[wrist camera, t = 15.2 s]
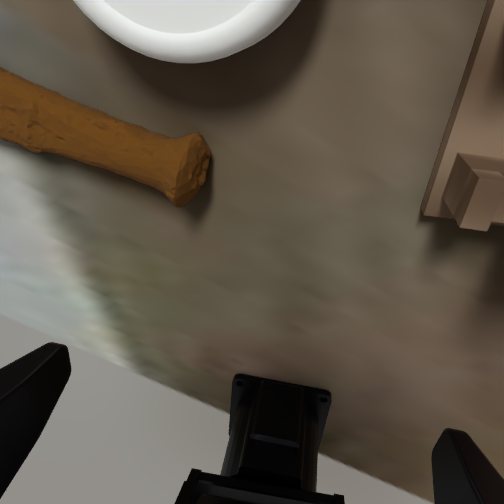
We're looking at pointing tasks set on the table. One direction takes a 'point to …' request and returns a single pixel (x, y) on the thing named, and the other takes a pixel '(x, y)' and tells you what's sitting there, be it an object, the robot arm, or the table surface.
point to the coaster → (187, 25)
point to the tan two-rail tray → (474, 137)
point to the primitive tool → (100, 139)
